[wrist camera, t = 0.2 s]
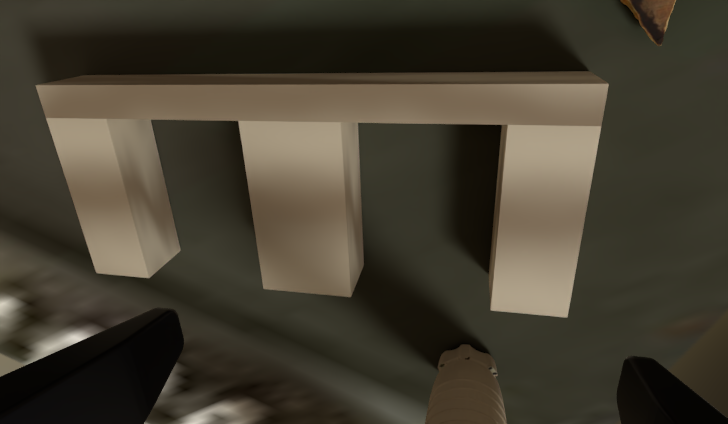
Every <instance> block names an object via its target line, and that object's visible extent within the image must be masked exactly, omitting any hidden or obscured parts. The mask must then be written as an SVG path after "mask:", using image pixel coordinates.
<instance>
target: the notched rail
mask: <svg viewBox="0 0 728 424" xmlns="http://www.w3.org/2000/svg"><path fill="white" fill-rule="evenodd" d="M608 85H609V84H608V83H607V82H605V81H604V80H602V79H601V78H599V77H598V76H596V75H595V74H593V73H592V72H590V71H559V72H427V73H295V74H163V75H83V76H78V77H73V78H68V79H63V80H58V81H54V82H49V83H44V84H39V85H36V88H37V91H38V94H39V97H40V101H41V104H42V107H43V110H44V113H45V116H46V119H47V122H48V125H49V128H50V131H51V135H52V138H53V141H54V144H55V147H56V150H57V153H58V156H59V159H60V162H61V165H62V169H63V172H64V175H65V178H66V181H67V184H68V187H69V190H70V193H71V196H72V199H73V203H74V206H75V209H76V212H77V215H78V218H79V221H80V224H81V227H82V230H83V233H84V236H85V240H86V243H87V246H88V249H89V252H90V255H91V258H92V261H93V264H94V267H95V270H96V273H100V274H110V275H121V276H132V277H142V278H150V277H151V276H152V275H153V274H154V273H156V272H157V271H158V270H159V269H160V268H161V267H162V266H164V265H165V264H166V263H167V262H168V261H169V260H170V259H172V258H173V257H174V256H175V255H176V254H177V253H178V252H180V251H181V249H180V245H179V241H178V236H177V232H176V228H175V223H174V219H173V215H172V210H171V206H170V202H169V197H168V193H167V189H166V184H165V180H164V176H163V171H162V167H161V163H160V158H159V154H158V149H157V145H156V141H155V136H154V132H153V128H152V123H151V120H214V121H238V122H239V129H240V136H241V142H242V149H243V155H244V162H245V169H246V175H247V182H248V189H249V195H250V202H251V208H252V215H253V222H254V228H255V235H256V241H257V248H258V255H259V261H260V268H261V275H262V281H263V288H264V289H270V290H280V291H291V292H302V293H312V294H323V295H333V296H344V297H351V296H352V293H353V291H354V288H355V286H356V284H357V281H358V279H359V276H360V274H361V271H362V269H363V266H364V253H363V230H362V207H361V184H360V161H359V137H358V123H416V124H483V125H502V128H501V140H500V151H499V163H498V174H497V186H496V197H495V209H494V220H493V232H492V243H491V255H490V266H489V289H490V308H491V310H493V311H503V312H514V313H524V314H535V315H546V316H556V317H567V316H568V311H569V305H570V300H571V294H572V288H573V283H574V277H575V271H576V266H577V260H578V254H579V249H580V243H581V238H582V232H583V226H584V221H585V215H586V209H587V204H588V198H589V192H590V187H591V181H592V176H593V170H594V164H595V159H596V153H597V147H598V142H599V136H600V130H601V125H602V119H603V114H604V108H605V102H606V97H607V91H608Z"/></svg>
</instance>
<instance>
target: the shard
mask: <svg viewBox="0 0 728 424" xmlns="http://www.w3.org/2000/svg"><path fill="white" fill-rule="evenodd" d="M620 1H621V2H622V3H623V4H625V5H627V6H628V7H629V8H630V10H631V11H632V12H633V14H634V16H635V18H636V19H638V20H639V23H640V25H641V26H642V28H643V29H644V30H645V32H646V33H647V35H648V36H649V38H650V39H651V40H652V41H653V42H654V43H655V44H656V45H657V46H660V45H661V44H662V42H663V36H664V33H665V31H666V28H667V25H668V20H669V17H670V15H671V12H672V10H673V7H674V4H675V2H676V0H620Z"/></svg>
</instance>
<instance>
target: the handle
mask: <svg viewBox="0 0 728 424" xmlns="http://www.w3.org/2000/svg"><path fill="white" fill-rule="evenodd" d="M438 369H439V374H438V375H437V377H436V379H435V382H434V385H433V388H432V392H431V395H430V400H429V405H428V410H427V416H426V422H425V424H507V422H506V415H505V409H504V403H503V398H502V394H501V391H500V387H499V384H498V381H497V380H496V376H498V374H497V369H496V365H495V362H494V359H493V358H492V357H491V356H490V355H489V354H487V353H482V352H479V351H477V350H475V349H473V348H472V347H471V346H470V345H466V344H463V345H460V347H459V348H457V349H454V350H450V351H448V350H447V351H445V352H444V353H443V354H442V355H441V357H440V360H439V364H438Z"/></svg>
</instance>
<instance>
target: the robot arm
mask: <svg viewBox="0 0 728 424" xmlns="http://www.w3.org/2000/svg"><path fill="white" fill-rule="evenodd" d="M183 345H184V338H183V334H182V330H181V326H180V322H179V318H178V314H177V312H176V311H175V310H173V309H168V308H154V309H152V310H150V311H148V312H145V313H143V314H141V315H139V316H136V317H134V318H132V319H130V320H127V321H125V322H123V323H120V324H118V325H116V326H114V327H111V328H109V329H107V330H105V331H102V332H100V333H98V334H96V335H93V336H91V337H89V338H87V339H84V340H82V341H80V342H78V343H75V344H73V345H71V346H69V347H66V348H64V349H62V350H60V351H57V352H55V353H53V354H51V355H48V356H46V357H44V358H42V359H39V360H37V361H35V362H33V363H30V364H28V365H26V366H24V367H21V368H19V369H17V370H15V371H12V372H10V373H8V374H6V375H3V376H1V377H0V424H144V422H145V420H146V419H147V417H148V415H149V414H150V412H151V410H152V408H153V406H154V405H155V403H156V401H157V399H158V397H159V395H160V393H161V391H162V389H163V387H164V385H165V383H166V381H167V379H168V377H169V375H170V373H171V371H172V369H173V367H174V366H175V364H176V362H177V360H178V358H179V356H180V354H181V352H182V349H183ZM617 405H618V410H619V415H620V420H621V424H728V418H727V417H725V416H724V415H723V414H722V413H720V412H719V411H718V410H717V409H715V408H714V407H713V406H712V405H710V404H709V403H708V402H707V401H705V400H704V399H703V398H702V397H700V396H699V395H698V394H697V393H695V392H694V391H693V390H692V389H690V388H689V387H688V386H687V385H685V384H684V383H683V382H682V381H680V380H679V379H678V378H677V377H675V376H674V375H673V374H672V373H670V372H669V371H668V370H667V369H665V368H664V367H663V366H662V365H660V364H659V363H658V362H657V361H655V360H654V359H652V358H647V357H637V356H628V357H627V358H626V359H625V360H624V363H623V367H622V371H621V376H620V380H619V384H618V388H617Z"/></svg>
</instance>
